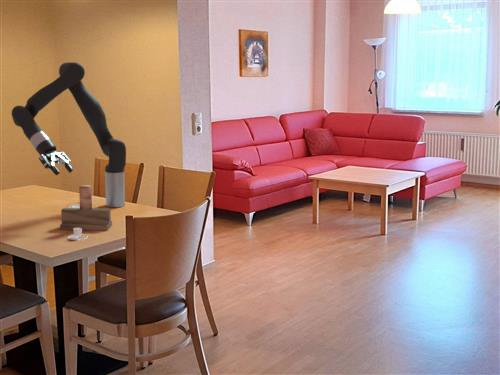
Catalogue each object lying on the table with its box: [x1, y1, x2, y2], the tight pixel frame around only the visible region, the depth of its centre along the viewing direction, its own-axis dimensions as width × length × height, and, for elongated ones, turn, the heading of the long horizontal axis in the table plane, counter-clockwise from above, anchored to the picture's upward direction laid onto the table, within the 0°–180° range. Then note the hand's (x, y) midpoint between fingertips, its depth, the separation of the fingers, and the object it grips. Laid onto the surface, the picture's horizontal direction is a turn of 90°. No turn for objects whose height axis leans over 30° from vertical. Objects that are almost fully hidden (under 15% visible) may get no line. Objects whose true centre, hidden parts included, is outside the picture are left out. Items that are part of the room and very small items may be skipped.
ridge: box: [59, 207, 113, 231], centre depth 264 cm, size 9×20×8 cm, turn 91°
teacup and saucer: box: [67, 228, 89, 241], centre depth 249 cm, size 9×8×4 cm
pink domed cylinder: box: [78, 184, 93, 210], centre depth 263 cm, size 5×5×10 cm
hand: (64, 172), depth 265 cm, fingers open, 8 cm apart
